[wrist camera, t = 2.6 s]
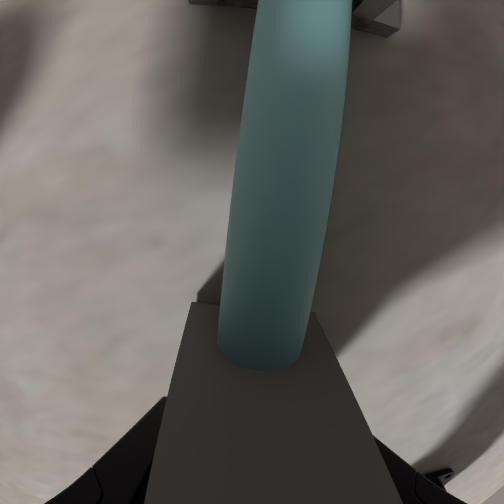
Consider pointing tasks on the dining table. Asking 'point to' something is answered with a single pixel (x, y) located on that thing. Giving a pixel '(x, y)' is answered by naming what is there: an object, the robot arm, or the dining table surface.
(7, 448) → the dining table surface
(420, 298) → the dining table surface
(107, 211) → the dining table surface
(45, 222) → the dining table surface
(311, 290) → the tube
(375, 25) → the sleeve
